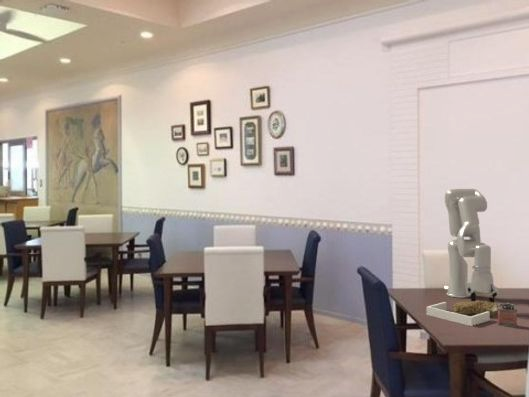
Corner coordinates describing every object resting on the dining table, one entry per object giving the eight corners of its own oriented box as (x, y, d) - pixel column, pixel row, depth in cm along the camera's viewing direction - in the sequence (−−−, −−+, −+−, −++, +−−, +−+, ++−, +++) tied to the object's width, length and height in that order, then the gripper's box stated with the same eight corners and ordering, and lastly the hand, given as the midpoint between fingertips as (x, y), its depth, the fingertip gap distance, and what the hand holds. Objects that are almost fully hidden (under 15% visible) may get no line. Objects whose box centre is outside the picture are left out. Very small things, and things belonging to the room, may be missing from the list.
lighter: (516, 324, 231) (516, 302, 230) (517, 326, 228) (517, 304, 227) (497, 323, 233) (497, 301, 233) (497, 325, 230) (498, 303, 230)
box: (426, 314, 249) (426, 306, 249) (444, 309, 258) (444, 301, 258) (471, 326, 230) (471, 317, 229) (489, 320, 238) (489, 311, 238)
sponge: (495, 315, 251) (453, 303, 259) (499, 301, 249) (456, 289, 257) (494, 327, 240) (450, 314, 247) (498, 312, 237) (454, 300, 245)
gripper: (462, 268, 260) (462, 301, 261) (495, 273, 246) (494, 308, 247) (470, 266, 264) (470, 299, 265) (503, 271, 251) (502, 305, 251)
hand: (482, 303), depth 256 cm, fingers open, 9 cm apart
